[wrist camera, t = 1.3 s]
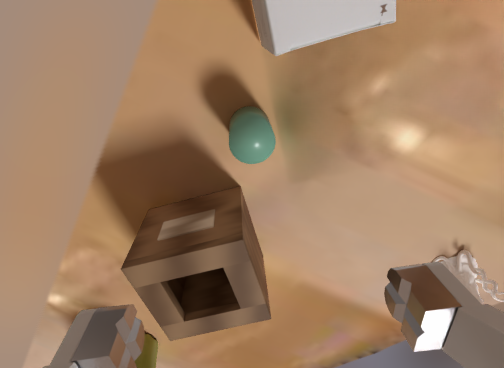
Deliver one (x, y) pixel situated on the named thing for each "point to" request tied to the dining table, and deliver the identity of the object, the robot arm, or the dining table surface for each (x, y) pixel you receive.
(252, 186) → the dining table surface
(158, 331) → the dining table surface
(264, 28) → the small box
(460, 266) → the white tentacle figurine
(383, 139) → the dining table surface
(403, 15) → the dining table surface
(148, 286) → the ticket box
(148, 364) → the plant pot
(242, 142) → the teal rounded cylinder
